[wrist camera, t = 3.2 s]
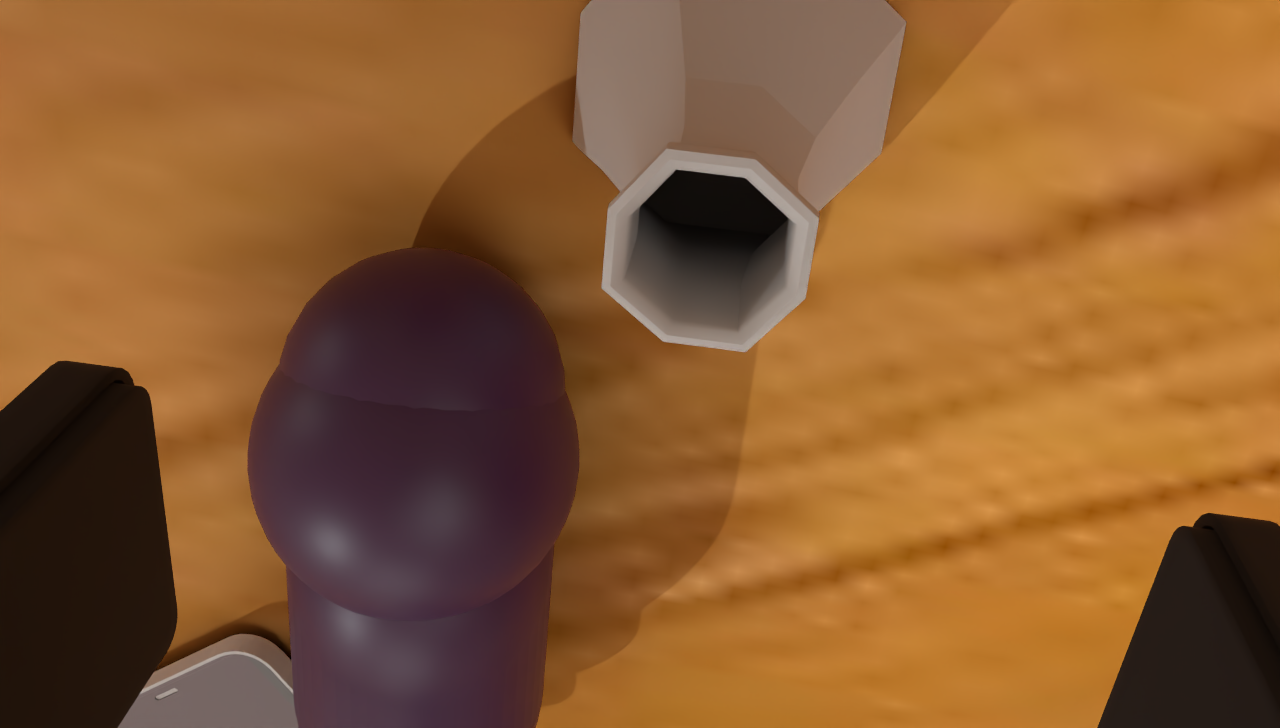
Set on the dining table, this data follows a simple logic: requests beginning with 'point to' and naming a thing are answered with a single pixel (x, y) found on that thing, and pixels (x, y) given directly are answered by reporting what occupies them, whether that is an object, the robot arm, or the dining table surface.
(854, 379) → the dining table surface
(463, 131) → the dining table surface
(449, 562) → the aubergine
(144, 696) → the smartphone
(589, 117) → the flask
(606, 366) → the dining table surface
